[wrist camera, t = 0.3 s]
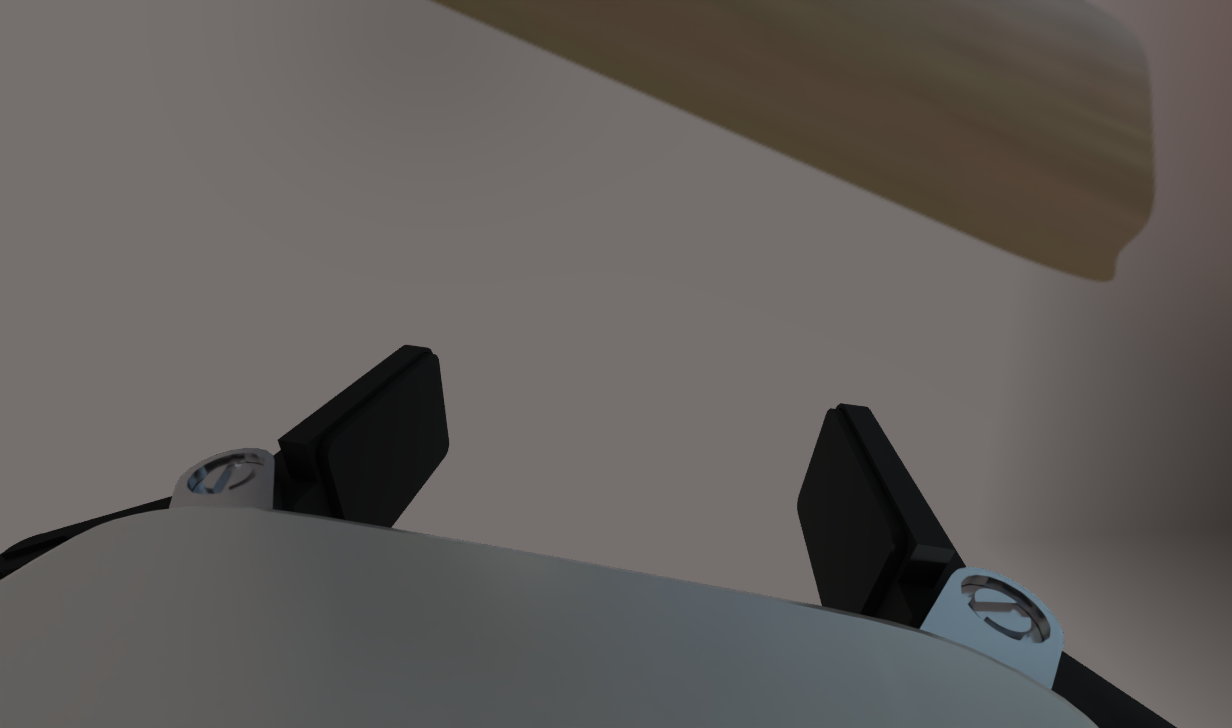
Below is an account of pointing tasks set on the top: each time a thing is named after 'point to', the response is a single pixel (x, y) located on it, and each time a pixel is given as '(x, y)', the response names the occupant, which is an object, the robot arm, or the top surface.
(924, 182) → the top surface
